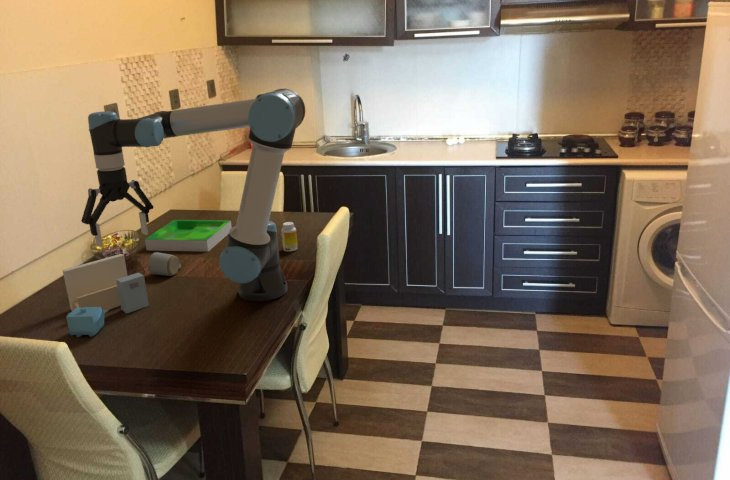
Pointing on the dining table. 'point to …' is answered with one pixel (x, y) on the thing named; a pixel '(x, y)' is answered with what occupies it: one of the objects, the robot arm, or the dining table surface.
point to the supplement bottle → (289, 237)
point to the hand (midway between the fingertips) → (123, 239)
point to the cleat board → (95, 283)
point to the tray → (188, 235)
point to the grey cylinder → (163, 264)
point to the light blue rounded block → (85, 321)
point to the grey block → (132, 292)
